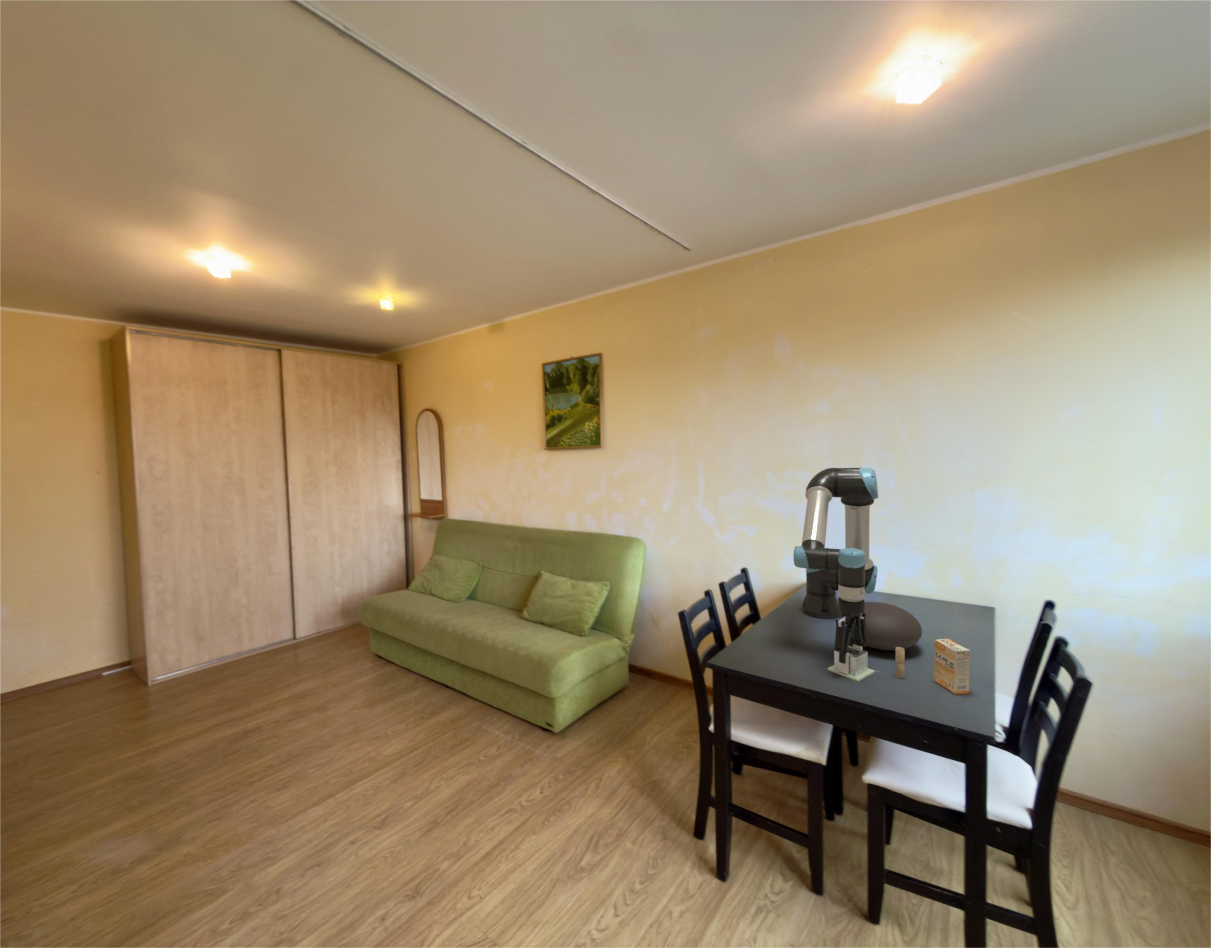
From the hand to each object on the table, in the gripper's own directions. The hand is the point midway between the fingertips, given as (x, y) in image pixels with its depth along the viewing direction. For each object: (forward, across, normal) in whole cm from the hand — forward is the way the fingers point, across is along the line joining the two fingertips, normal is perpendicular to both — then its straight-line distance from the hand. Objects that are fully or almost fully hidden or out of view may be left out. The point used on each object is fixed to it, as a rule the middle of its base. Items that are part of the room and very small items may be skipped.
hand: (850, 668), depth 156 cm
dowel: (+1, +8, -11) cm, 14 cm away
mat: (+1, 0, 0) cm, 1 cm away
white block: (0, 0, 0) cm, 0 cm away
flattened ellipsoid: (+1, +27, +4) cm, 28 cm away
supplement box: (+1, +13, -23) cm, 27 cm away
